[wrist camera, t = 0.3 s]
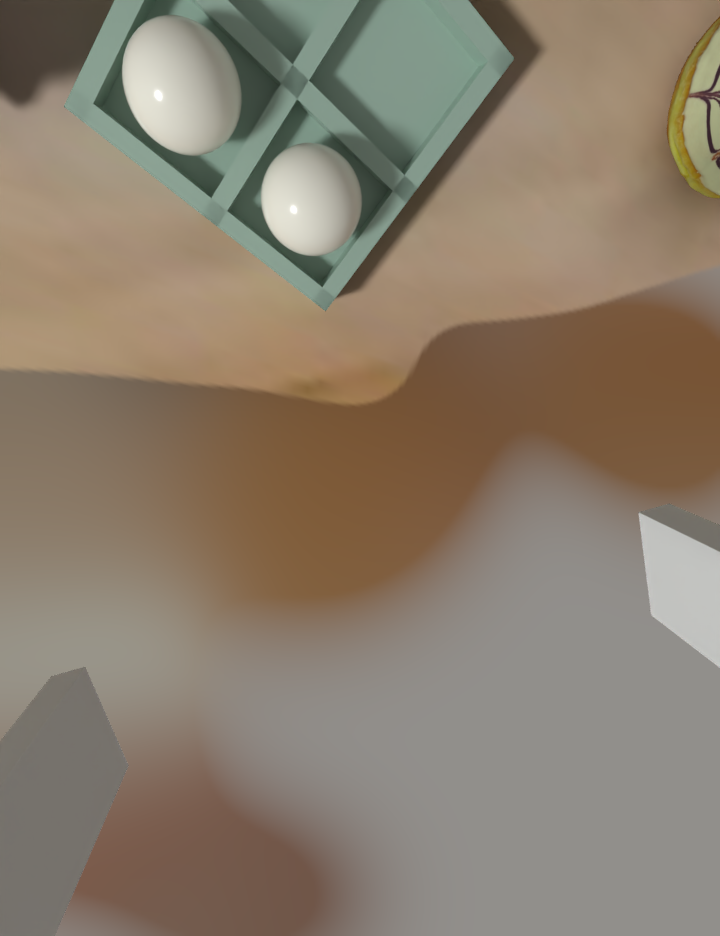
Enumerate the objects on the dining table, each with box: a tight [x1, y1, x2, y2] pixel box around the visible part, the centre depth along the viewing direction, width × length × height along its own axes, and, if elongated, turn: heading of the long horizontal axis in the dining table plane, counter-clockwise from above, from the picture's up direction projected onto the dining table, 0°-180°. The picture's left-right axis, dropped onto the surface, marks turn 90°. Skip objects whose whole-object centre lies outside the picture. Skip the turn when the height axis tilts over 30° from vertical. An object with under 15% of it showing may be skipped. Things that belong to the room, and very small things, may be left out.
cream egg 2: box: [261, 143, 362, 256], centre depth 28 cm, size 5×5×5 cm
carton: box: [64, 0, 515, 311], centre depth 27 cm, size 16×16×2 cm
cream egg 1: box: [122, 15, 242, 156], centre depth 25 cm, size 5×5×5 cm
